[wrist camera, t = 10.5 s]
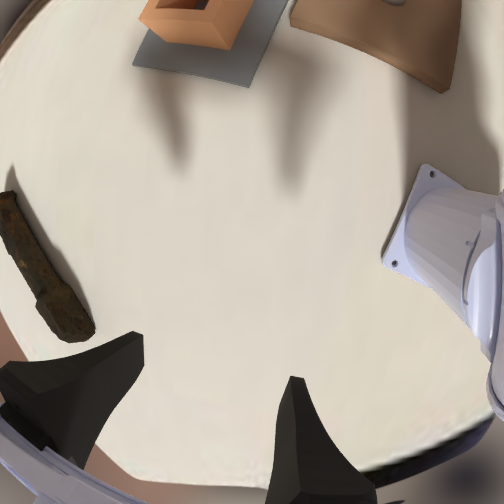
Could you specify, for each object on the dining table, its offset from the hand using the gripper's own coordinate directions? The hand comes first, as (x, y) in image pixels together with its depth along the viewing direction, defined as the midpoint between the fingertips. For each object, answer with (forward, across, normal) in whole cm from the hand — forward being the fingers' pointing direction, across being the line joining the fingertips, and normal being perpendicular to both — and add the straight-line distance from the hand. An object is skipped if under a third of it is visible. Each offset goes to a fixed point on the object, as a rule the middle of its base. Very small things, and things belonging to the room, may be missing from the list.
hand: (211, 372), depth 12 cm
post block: (+9, -6, -25) cm, 28 cm away
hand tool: (+10, +22, +2) cm, 24 cm away
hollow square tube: (+9, +7, -20) cm, 23 cm away
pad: (+9, +7, -20) cm, 23 cm away
